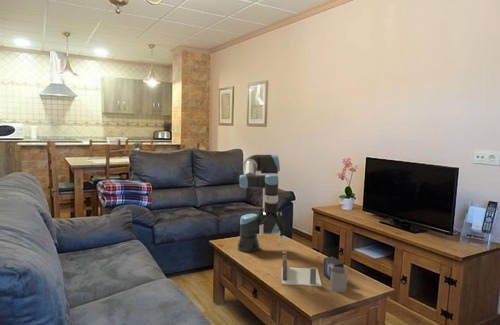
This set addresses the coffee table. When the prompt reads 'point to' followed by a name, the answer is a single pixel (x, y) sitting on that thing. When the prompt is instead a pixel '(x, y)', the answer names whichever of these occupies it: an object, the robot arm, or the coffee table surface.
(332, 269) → the cup
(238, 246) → the robot arm
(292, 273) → the board
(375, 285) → the coffee table surface
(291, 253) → the coffee table surface
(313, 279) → the post
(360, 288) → the coffee table surface
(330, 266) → the small box
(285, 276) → the hinge post
